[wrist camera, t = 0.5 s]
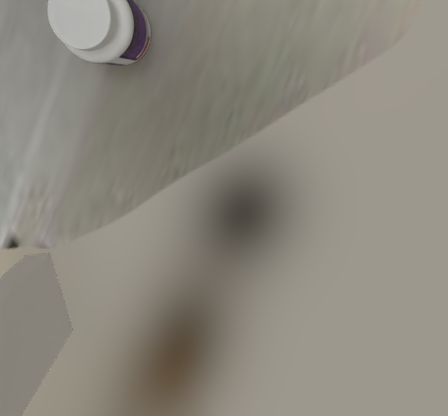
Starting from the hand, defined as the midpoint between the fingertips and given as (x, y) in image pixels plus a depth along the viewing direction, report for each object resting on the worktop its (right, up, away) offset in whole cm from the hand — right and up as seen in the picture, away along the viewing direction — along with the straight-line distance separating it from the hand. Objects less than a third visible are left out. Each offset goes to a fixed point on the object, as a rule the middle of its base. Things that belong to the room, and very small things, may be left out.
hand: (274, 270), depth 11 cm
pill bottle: (-10, +17, +22) cm, 30 cm away
